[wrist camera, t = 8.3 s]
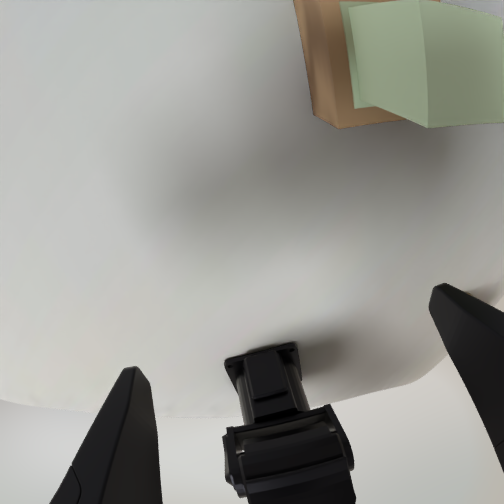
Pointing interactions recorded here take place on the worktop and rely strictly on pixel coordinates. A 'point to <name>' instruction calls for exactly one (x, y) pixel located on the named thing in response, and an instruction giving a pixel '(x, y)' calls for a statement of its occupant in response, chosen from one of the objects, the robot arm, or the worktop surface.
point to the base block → (335, 63)
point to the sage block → (430, 61)
